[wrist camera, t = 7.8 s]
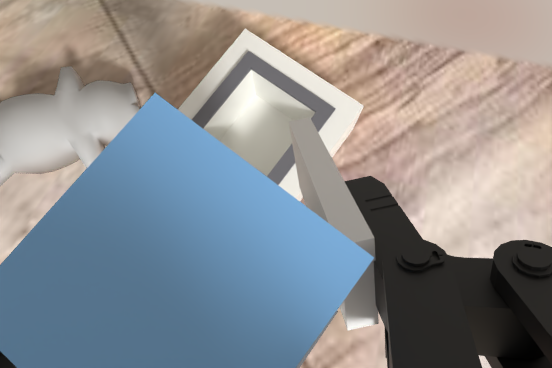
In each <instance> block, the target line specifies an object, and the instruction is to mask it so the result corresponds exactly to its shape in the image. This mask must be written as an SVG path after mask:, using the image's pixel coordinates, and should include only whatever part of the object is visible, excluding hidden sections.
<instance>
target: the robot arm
mask: <svg viewBox="0 0 552 368" xmlns="http://www.w3.org/2000/svg"><path fill="white" fill-rule="evenodd" d="M289 127H290V133H291V139H292V145H293V151H294V157H295V163H296V169H297V175H298V181H299V187H300V190H301V193H302V196H303V199H304V202H305V205H306V207H308V208H309V209H310V210H312V211H313V212H314V213H316V214H317V215H318V216H320V217H321V218H322V219H324V220H325V221H326V222H328V223H329V224H330V225H332V226H333V227H334V228H336V229H337V230H338V231H340V232H341V233H342V234H344V235H345V236H346V237H348V238H349V239H350V240H352V241H353V242H354V243H356V244H357V245H358V246H360V247H361V248H362V249H364V250H365V251H366V252H368V253H369V254H370V255H372V256H373V257H374V259H373V260H372V262H371V263H370V265H369V266H368V267H367V269H366V270H365V272H364V273H363V274H362V276H361V277H360V279H359V280H358V281H357V283H356V284H355V286H354V287H353V288H352V290H351V291H350V293H349V294H348V295H347V297H346V298H345V300H344V301H343V302H342V304H341V305H340V309H341V312H342V315H343V318H344V321H345V324H346V327H347V330H352V329H357V328H361V327H366V326H370V325H375V324H378V312H379V314H380V316H381V319H382V321H383V323H384V325H385V350H386V358H387V367H388V368H482V366H481V363H480V359H479V356H478V355H482V356H485V357H486V359H487V361H488V362H489V364H490V366H491V367H492V368H552V247H550V246H548V245H545V244H543V243H540V242H534V241H529V240H515V241H509V242H507V243H504V244H501V245H500V246H499V247H498V248H497V249H496V250H495V251H494V256H493V259H489V258H462V257H454V256H450V255H447V254H446V252H445V251H444V250H443V249H441V248H440V247H439V246H437V245H436V244H434V243H431V242H428V241H426V240H423V239H422V237H421V236H420V235H419V233H418V232H417V230H416V229H415V227H414V226H413V224H412V223H411V222H410V220H409V219H408V217H407V216H406V214H405V213H404V212H403V210H402V209H401V207H400V206H398V203H397V202H396V200H395V199H394V197H392V194H391V193H390V192H389V190H388V189H387V187H386V186H385V184H384V183H382V182H380V181H378V180H377V179H375V178H373V177H372V176H368V177H363V178H359V179H354V180H349V181H345V182H344V180H343V178H342V176H341V174H340V172H339V170H338V169H337V167H336V165H335V163H334V161H333V159H332V157H331V156H330V154H329V152H328V150H327V148H326V146H325V144H324V142H323V141H322V139H321V137H320V135H319V133H318V131H317V129H316V127H315V126H314V124H313V122H312V120H311V118H310V117H308V118H303V119H299V120H294V121H289ZM0 368H17V367H16V366H15V365H14V364H13V363H12V362H11V361H10V360H9V359H8V358H7V357H6V356H5V355H4V354H3V353H2V352H1V351H0Z"/></svg>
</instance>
